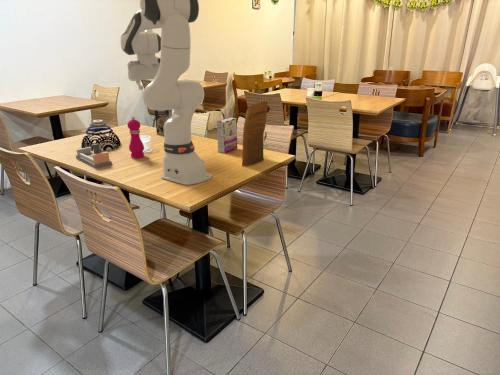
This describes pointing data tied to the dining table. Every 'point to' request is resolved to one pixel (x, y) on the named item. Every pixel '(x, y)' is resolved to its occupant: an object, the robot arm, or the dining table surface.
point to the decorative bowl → (117, 143)
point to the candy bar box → (227, 135)
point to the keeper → (96, 148)
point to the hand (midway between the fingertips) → (149, 88)
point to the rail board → (97, 159)
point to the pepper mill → (135, 139)
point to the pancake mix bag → (254, 134)
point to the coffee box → (161, 120)
